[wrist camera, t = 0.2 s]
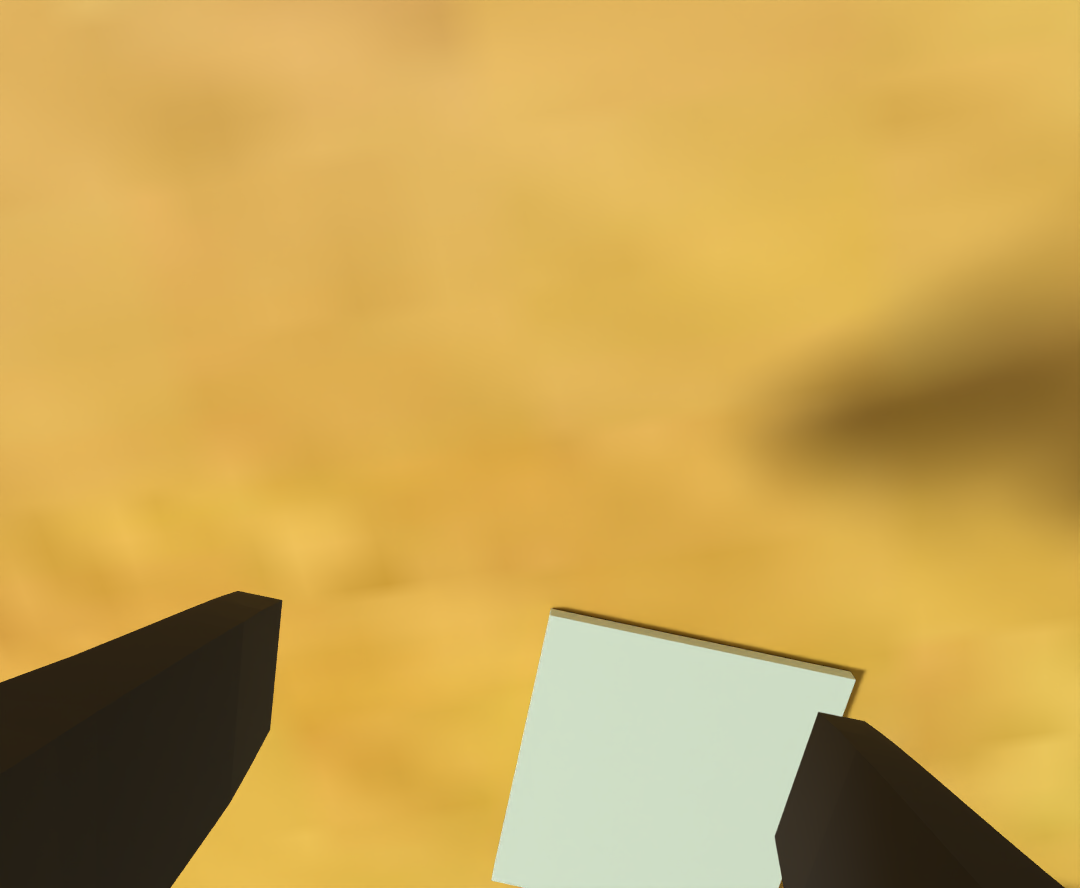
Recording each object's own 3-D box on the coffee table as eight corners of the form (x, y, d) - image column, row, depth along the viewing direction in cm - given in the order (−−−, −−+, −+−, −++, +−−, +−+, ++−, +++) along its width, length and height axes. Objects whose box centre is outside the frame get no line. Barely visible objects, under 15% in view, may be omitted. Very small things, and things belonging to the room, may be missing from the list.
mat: (756, 927, 22) (759, 939, 21) (493, 869, 22) (491, 880, 21) (850, 671, 19) (856, 680, 19) (551, 608, 19) (550, 615, 19)
